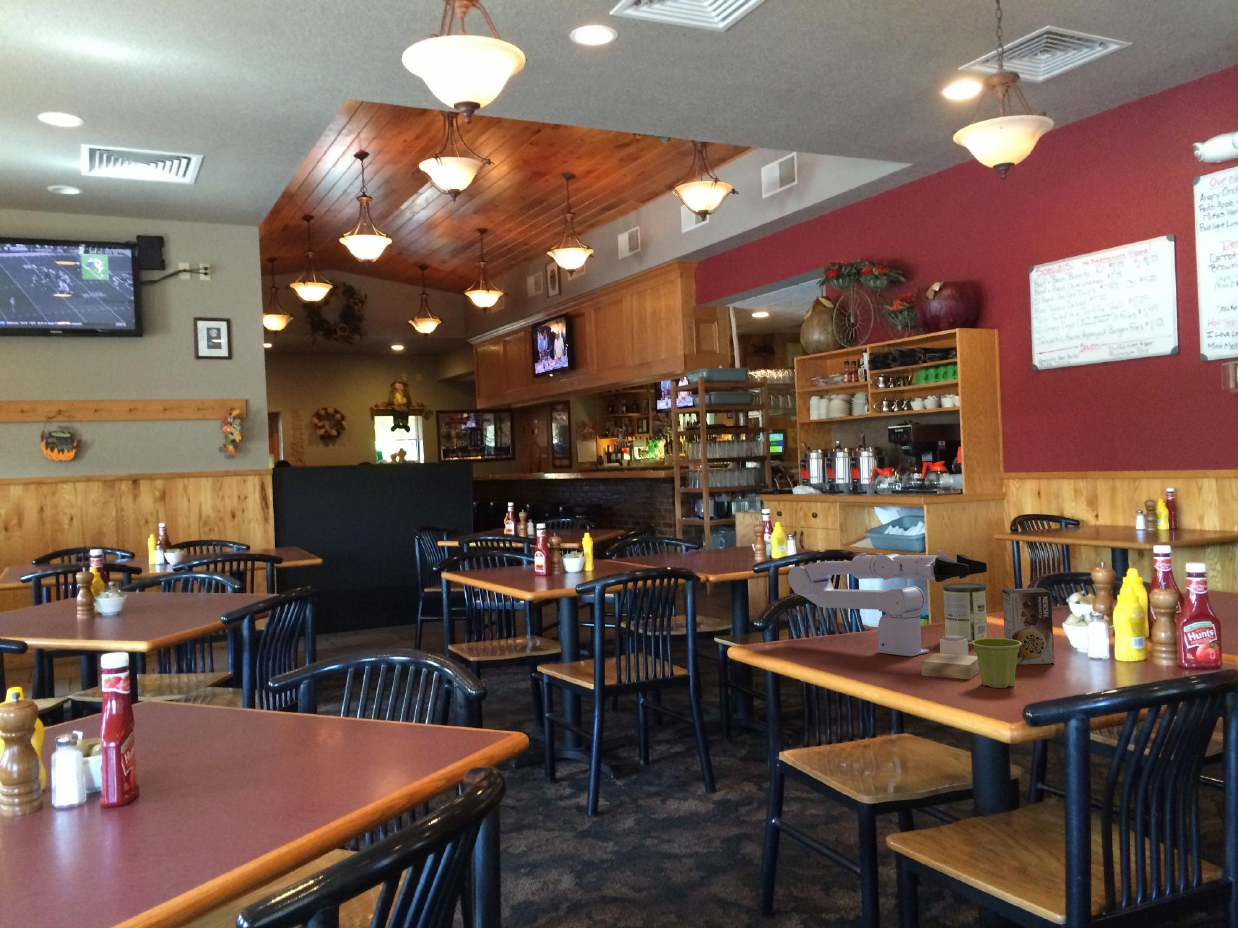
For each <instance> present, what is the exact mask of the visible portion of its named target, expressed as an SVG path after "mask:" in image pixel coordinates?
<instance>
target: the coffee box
mask: <svg viewBox="0 0 1238 928" xmlns="http://www.w3.org/2000/svg"><path fill="white" fill-rule="evenodd" d="M1001 594H1002V612H1003V614H1002V615H1003V632H1004V633H1003V634H1004V639H1011V640H1017V641H1020V642H1021V643H1022V645H1021V646H1020V648H1019V652H1018V655H1017V663H1016V666H1017V665H1019V666H1020V665H1045V664H1049V665H1050V664H1051V663H1054V664H1055V660H1056V659H1055V644H1054V628H1053V627H1054V626H1053V625H1054V624H1053V610H1052V609H1053V608H1052V591H1050V590H1048V589H1045V588H1043V587H1038V588H1037V587H1033V588H1032V587H1031V588H1030V587H1029V588H1007V589H1005V588H1004V589H1002V590H1001Z"/></svg>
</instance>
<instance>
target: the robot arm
mask: <svg viewBox="0 0 1238 928" xmlns="http://www.w3.org/2000/svg"><path fill="white" fill-rule="evenodd" d="M986 572H988V566H987V562H985V561H982V560H977V559H973V558H970V557H968V556H966V555H965V554H962V553H961V554H960V553H959V554H956V560H955V559H953V558H951V557H949V556H947V555H946V553H945V550H943V549H942V550H941V549H940V550H937V554H936V555H931V554H930V555H929V554H905V555H903V554H900V553H895V552H894V553H893V552H892V553H890V554H883V553H882V552H877V553H876V554H874V555H873V554H871V555H867V552H863V553H859V554H858V555H855V556H854V557H853V558H852V560H849V561H848V560H847V561H846V560H842V561H841V560H840V561H839V560H838V561H836V560H828V561H827V560H826V561H819V562H813V563H809V564H805V565H802V566H794V567H792V568H791V569H790V570H789V572H788V575H787V580H788V583H789V584H788V585H789V586H790V587H791V589H792V590H793V592H794V594H796V595H799V596H802V597H804V598H805V599H807V600H809V602H811V603H812V604H815V605H816V606H818V607H819V608H828V609H830V608H831V609H832V608H833V609H854V610H856V609H858V610H877V611H878V612H883V613H885V614H883V615H882V616H880V617H879V620H878V622H877V623H878V624H877V626H878V627H877V634H878V635H877V636H878V637H877V638H878V639H877V640H878V649H877V650H876V652H877V653H881V654H888V655H897V656H904V657H914V656H918V655H922V654H926V653H929V652H930V650H929V649H924V648H922V637H921V636H922V635H921V614H922V612H921V610H922V609H924V606H925V604H926V596H925V594H924V591H922V589H921V588H920V587H918V586H915V585H909V586H907V587H901V588H894V589H892V588H891V589H886V590H885V589H884V590H883V589H848V588H847V589H843V588H839V589H838V588H834V585H833V583H832V580H831V579H832V576H835V575H840V576H841V575H852V576H853V577H854V578H856V579H858V580H863V579H864V580H869V579H870V580H871V579H872V580H873V579H875V580H876V579H883V581H887V580H890V579H895V578H896V579H897V578H898V579H906V580H926V581H927V580H928V581H929V580H930V581H935V582H937V583H942V582H945V581H947V580H949V579H952V578H958V579H959V580H960V579H964V578H967V577H969V576H971V575H976V574H984V573H986ZM886 613H887V614H886Z"/></svg>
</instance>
